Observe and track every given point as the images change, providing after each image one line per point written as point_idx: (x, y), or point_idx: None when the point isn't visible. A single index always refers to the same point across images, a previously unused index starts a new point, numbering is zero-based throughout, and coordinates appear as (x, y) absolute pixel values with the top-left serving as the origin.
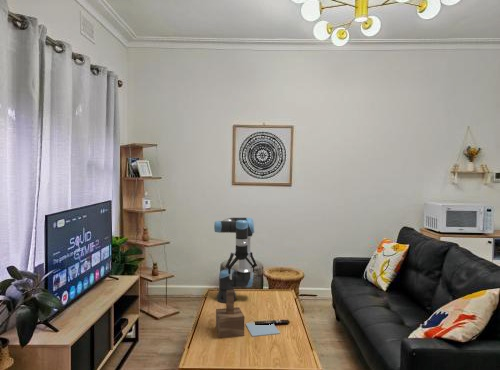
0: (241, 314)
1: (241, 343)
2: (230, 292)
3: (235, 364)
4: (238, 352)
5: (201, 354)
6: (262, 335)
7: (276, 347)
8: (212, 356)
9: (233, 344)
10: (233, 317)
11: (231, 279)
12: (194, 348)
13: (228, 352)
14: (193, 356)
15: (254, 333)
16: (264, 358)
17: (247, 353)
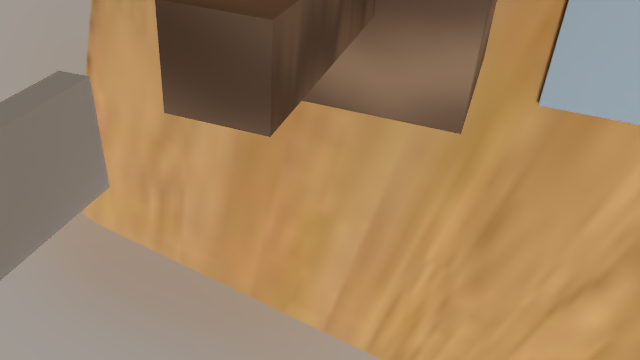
0: (451, 72)
1: (412, 155)
2: (215, 119)
3: (303, 315)
4: (353, 237)
5: (152, 164)
6: (637, 122)
7: (620, 300)
8: (206, 207)
9: (354, 143)
10: (341, 106)
11: (102, 184)
12: (115, 87)
13: (297, 211)
14: (113, 164)
15: (582, 74)
16: (470, 347)
17: (400, 268)
